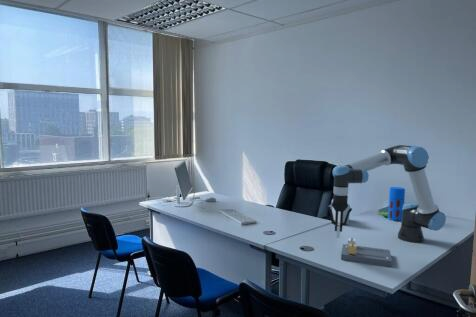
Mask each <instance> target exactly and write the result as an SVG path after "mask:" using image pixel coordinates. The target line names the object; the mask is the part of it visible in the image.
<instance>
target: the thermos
mask: <svg viewBox="0 0 476 317" xmlns="http://www.w3.org/2000/svg"><path fill="white" fill-rule="evenodd" d="M405 195H406V188H404V187H401V186H400V187H399V186H398V187H397V186H390V188H389V196H388V197H389V199H388V211H387V217H388V218H387V219H388V220H389V221H392V220H393V222H402V208H403V205H404V204H405V197H406V196H405Z"/></svg>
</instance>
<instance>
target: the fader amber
mask: <svg viewBox="0 0 476 317" xmlns="http://www.w3.org/2000/svg"><path fill="white" fill-rule="evenodd" d="M357 246H358V245H357V244H356V243H355V244H350V243H349V248H348V254H355V255H356V247H357Z"/></svg>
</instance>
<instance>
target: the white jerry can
mask: <svg viewBox="0 0 476 317" xmlns="http://www.w3.org/2000/svg"><path fill="white" fill-rule="evenodd" d="M332 203H333V198H332V199H331V204H332ZM347 204H348V206H349V207H350V208H351V205H350V204H349V203H347ZM347 212H348V211H347V208H346V210H345V211H344V212H343V223H344V221H345V218H346V215H347ZM332 213H333V218H334V221H335V216H336V211H335V209H334V208H333V206H332ZM350 213H351V212H350ZM350 213H349V216H348V220H347V223H346V225H345V226H347V225H349V221H350V215H351V214H350ZM340 216H341V212H340V211H339V212H338V225H340Z"/></svg>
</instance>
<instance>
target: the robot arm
mask: <svg viewBox="0 0 476 317" xmlns="http://www.w3.org/2000/svg"><path fill="white" fill-rule="evenodd" d="M429 160H430V159H429V153H428V151H427V150H426V149H425V148H424V147H422V146H417V145H405V144H404V145H402V144H401V145H400V144H398V145H394V146H391V147H387V148H385V149H383V150H380V151H379V153H377V154H374V155H373V154H372V155H371V156H368V157H366V158H362V159H359V160H357V161H354V162H352V163H348V164H345V165H336V166H335V167H334V168H333V169H332V176H333V178H334V179H333V190H332V191H333V195H332V199H333V203H332V202H331V204H330V205H327V210H328V211H329V215H330V222H331V224H332V225H334V231H335V232H336V236H335V237H336V239H340V237H341V233H342V232H343V226H347V225H346V223H347V220H348V216H349V217H350V214H349V213H351V212H352V211H353V208H352V207H351V206H350V207H349V206H348V204H349V203H348V198H349V197H348V195H349V184H364V183H367V182H368V180H369V173H368V171H371V170H374V169H376V168H379V167H382V166H390V165H400V166H401V165H402V166H403V169H404V171H405V172H406V173H408V176H409V179H410V183H411V185H412V189H413V193H414V195H415V196H414V197H415V198H416V203H415V202H412V203H410V202H409V203H404V205H403V208H402V221H401V225H400V228H399V230H398V232H397V238H398V239H400V240H402V241H405V242H409V243H422V242H424V241H425V240H424V239H425V238H424V237H425V236H424V232H423V229H422V228H425V229H428V230H430V231H440V230H441V229H442V228H443V227H444V226H445V224H446V221H447V220H446V217H447V216H446V214H445V213H444V212H442V211H440V209H439V206H438V205H437V204H436V203H435V202H434V198H433V194H432V191H431V188H430V184H429V180H428V177H427V173H426V170H425V169H426V168H427V165H428V163H429ZM332 206H333V208H334V209H335V211H336V216H335V220H334V218H333V213H332ZM346 208H347V211H348V212H347V215H346V218H345V221H344V223H343V212H344V211H345V210H346ZM339 211H340V212H341V216H340V224H339V223H338V212H339Z"/></svg>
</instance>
